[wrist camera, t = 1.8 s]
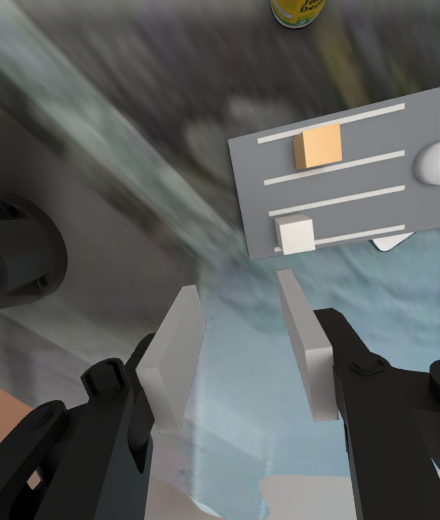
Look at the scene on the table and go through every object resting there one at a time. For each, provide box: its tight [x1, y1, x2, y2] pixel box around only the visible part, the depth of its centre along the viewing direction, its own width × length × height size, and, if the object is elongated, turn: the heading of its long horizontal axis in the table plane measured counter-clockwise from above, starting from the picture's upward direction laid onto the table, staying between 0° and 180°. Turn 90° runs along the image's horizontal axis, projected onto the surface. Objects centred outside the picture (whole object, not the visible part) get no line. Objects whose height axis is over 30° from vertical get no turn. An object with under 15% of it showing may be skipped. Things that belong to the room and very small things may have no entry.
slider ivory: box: [274, 213, 315, 255], centre depth 26 cm, size 3×3×4 cm
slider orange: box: [293, 123, 342, 170], centre depth 24 cm, size 3×3×4 cm
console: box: [228, 87, 440, 260], centre depth 27 cm, size 23×14×4 cm, turn 102°
